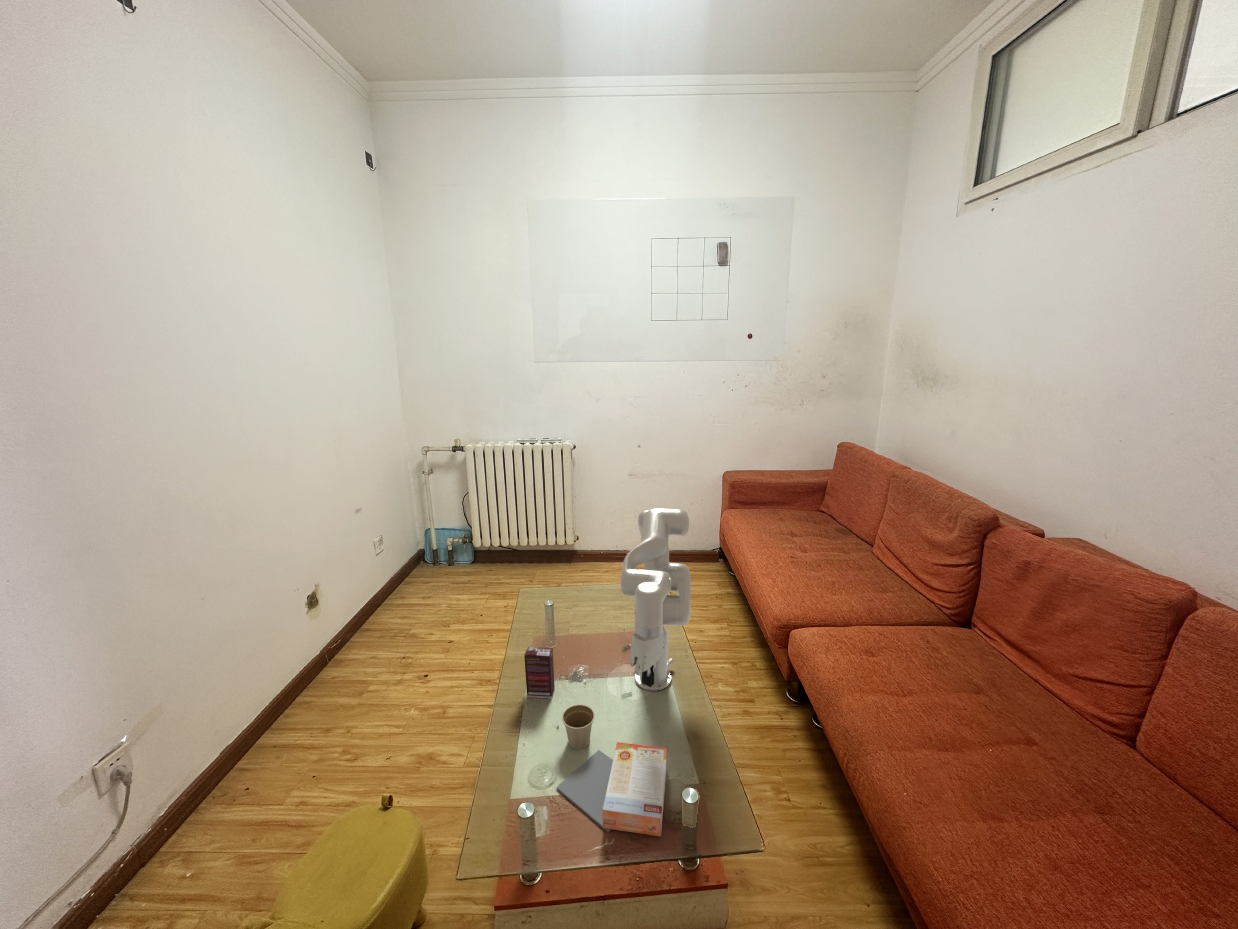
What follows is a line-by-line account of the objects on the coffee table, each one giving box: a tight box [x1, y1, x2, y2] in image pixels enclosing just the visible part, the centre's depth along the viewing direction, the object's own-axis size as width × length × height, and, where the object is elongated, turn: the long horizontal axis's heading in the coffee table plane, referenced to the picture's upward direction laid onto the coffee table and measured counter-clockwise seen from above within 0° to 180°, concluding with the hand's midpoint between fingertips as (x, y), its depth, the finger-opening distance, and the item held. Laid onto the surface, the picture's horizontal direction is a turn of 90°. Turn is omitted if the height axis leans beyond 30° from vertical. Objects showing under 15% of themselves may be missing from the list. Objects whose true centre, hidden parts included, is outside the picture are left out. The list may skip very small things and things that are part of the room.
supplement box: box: [523, 646, 556, 699], centre depth 160 cm, size 9×5×16 cm, turn 85°
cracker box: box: [602, 741, 668, 837], centre depth 124 cm, size 14×6×21 cm
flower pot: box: [561, 704, 596, 750], centre depth 141 cm, size 9×9×9 cm
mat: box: [556, 749, 613, 833], centre depth 127 cm, size 16×18×1 cm
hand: (647, 683), depth 137 cm, fingers closed
